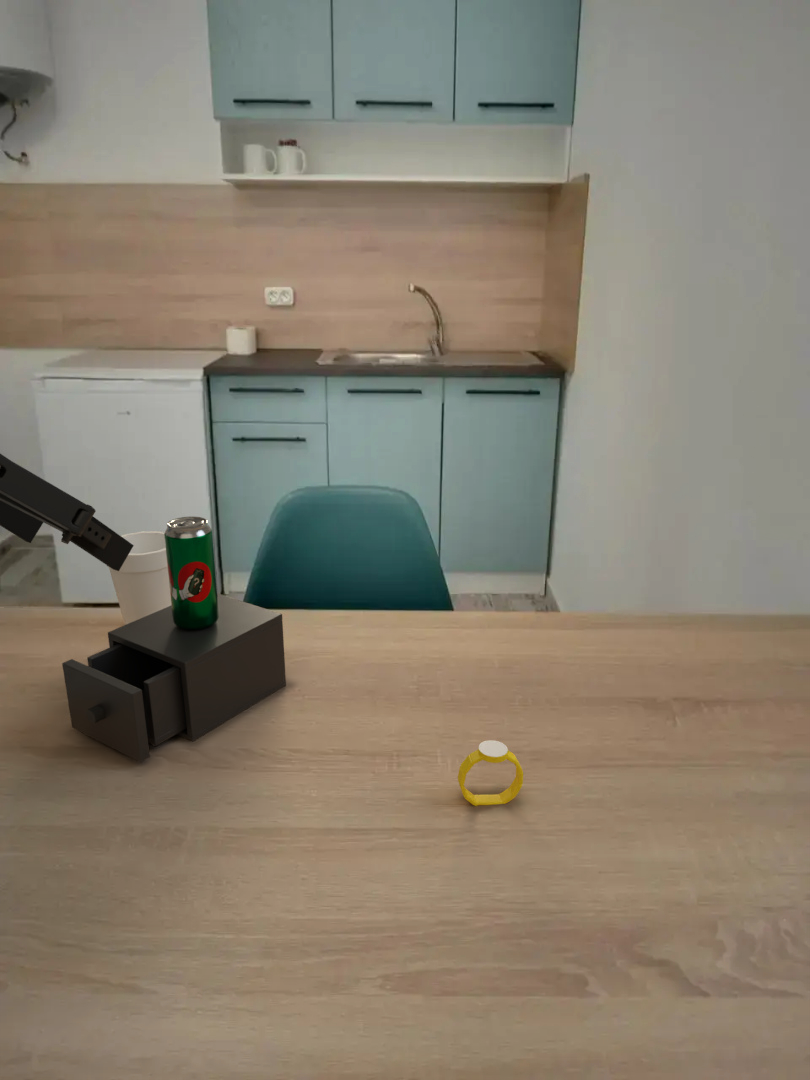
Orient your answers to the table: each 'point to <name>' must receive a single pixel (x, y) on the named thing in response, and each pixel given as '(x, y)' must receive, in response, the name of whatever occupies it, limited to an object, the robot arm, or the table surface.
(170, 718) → the drawer
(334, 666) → the table surface
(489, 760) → the watch
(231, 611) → the cabinet
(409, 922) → the table surface
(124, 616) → the foam cup
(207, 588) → the soda can
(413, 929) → the table surface
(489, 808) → the table surface
